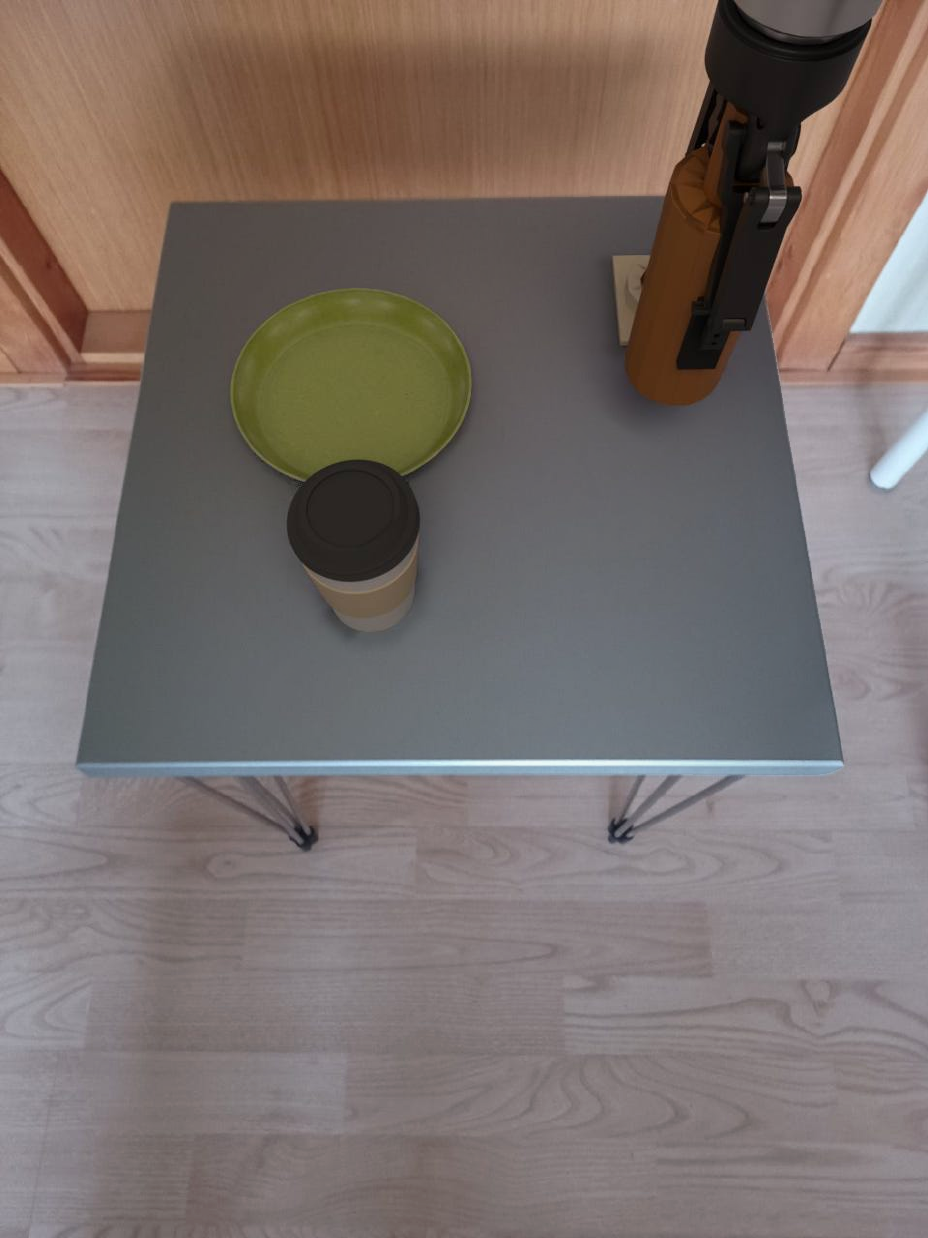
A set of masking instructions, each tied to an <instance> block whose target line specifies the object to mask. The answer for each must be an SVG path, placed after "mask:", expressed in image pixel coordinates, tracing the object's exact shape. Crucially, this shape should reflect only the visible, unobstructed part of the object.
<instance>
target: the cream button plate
mask: <svg viewBox="0 0 928 1238" xmlns="http://www.w3.org/2000/svg"><path fill="white" fill-rule="evenodd" d="M650 255H651V254H639V255H638V254H636V255H635V254H633V255H631V254H629V255H628V254H626V255H625V254H624V255H623V254H622V255H612V257H611V268H612V277H613V278H612V279H613V290H614V300H615V311H616V321H617V322H616V323H617V332H618V342H619V343H618V344H619V346H620V347H627V345H628V341H629V337H630V333H631V329H632V326H633V322H634V318H635V314H636V310H637V306H638V302H639V298H640V294H641V290H642V286H643V282H644V277H645V273H646V270H647V266H648V263H649V259H650Z"/></svg>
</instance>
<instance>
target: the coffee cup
mask: <svg viewBox="0 0 928 1238" xmlns="http://www.w3.org/2000/svg"><path fill="white" fill-rule="evenodd" d="M420 513H421V512H420V508H419V504H418V502H417V499H416V496H415V494H414V490H413V489H412V487H411V485H410V484H409V482H408V481H407V479H405V477H404V476H403V477H402V476H401V475H400V474H399V473H398V472H397V471H395V470H394V469H392V468H391V467H389V466H387V465H384V464H382V463H379V462H375V461H371V460H362V459H355V460H346V461H341V462H337V463H334V464H331V465H329V466H326V467H324V468H322V469H321V470H319V471H317V472H316V473H314V474H313V475H312V476H310V477H309V478H308V479H307V480H306V481H305V482H302V484H301V485H300V486H299V487H298V488H297V490H296V492H295V493H294V495H293V497H292V499H291V501H290V504H289V506H288V509H287V515H286V533H287V538H288V541H289V545H290V547H291V549H292V551H293V554H294V555H295V556H296V558H297V559H298V560H299V561H300V562H301V565H302V566H303V568H304V570H305V571H306V573H307V574H308V576H309V578H310V579H311V580H312V582H313V584H314V586H315V587H316V589H317V590H318V592H319V593H320V595H321V597H322V598H323V601H325V603H326V604H328V605H329V607H330V608H331V609H332V610H333V612H334V614H335V615H336V617H337V618H338V619H339V620H340V622H342V623H343V624H344V625H346V626H347V627H348V628H351V629H353V630H354V631H358V632H364V633H376V632H377V633H378V632H382V631H385V630H388V629H390V628H392V627H394V626H396V625H397V624H399V623H400V622H401V621H402V620H403V619H404V618H405V617H406V616H407V615H408V613H409V612H410V610H411V608H412V606H413V603H414V600H415V594H416V581H417V576H418V575H417V574H418V556H419V532H420V525H421V514H420Z"/></svg>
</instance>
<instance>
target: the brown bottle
mask: <svg viewBox="0 0 928 1238" xmlns="http://www.w3.org/2000/svg"><path fill="white" fill-rule="evenodd" d="M747 118H748V117H747V111H746V110H742V109H740V108H738V107H736V106H734V105H733V104H731V103H730V102H728V101H727V105H726V108H725V111H724V114H723V118H722V121H721V124H720V128H719V131H718V134H717V138H716V141H715V144H714V148H713V151H712V154H711V157H709V155H708V149H707V146H705V147H702V148H699V149H697V150H694V151H691V152H690V153H688V154H687V155H686V156H685V155H684V157H682V159H681V160H679V161H678V162H677V163H676V164H675V165H674V167H673V170H672V173H671V176H670V178H669V181H668V184H667V188H666V189H667V190H666V192H665V196H664V200H663V205H662V207H661V208H662V209H661V213H660V216H659V219H658V224H657V227H656V232H655V235H654V241H653V243H652V247H651V251H650V254H649V255H650V259H649V263H648V267H647V271H646V275H645V278H644V282H643V286H642V290H641V294H640V298H639V302H638V306H637V310H636V314H635V318H634V322H633V326H632V329H631V333H630V337H629V341H628V345H627V346H626V350H625V353H624V370H625V373H626V376H627V379H628V381H629V382H630V384H631V386H632V387H633V388H634V389H635V390H636V391H637V392H638V393H639V394H640V395H642V396H643V397H645V398H646V399H647V400H650V401H651V402H654V403H657V404H659V405H664V406H672V407H682V406H689V405H692V404H696V403H698V402H700V401H702V400H704V399H705V398H707V397H708V396H709V395H711V393H713V391H715V389H716V388H717V386H718V385H719V383H720V382H721V379H722V376H723V374H724V372H725V370H726V368H727V365H728V363H729V360H730V358H731V356H732V354H733V351H734V349H735V347H736V344H737V342H738V340H739V337H740V335H741V332H742V331H731V332H730V334H729V337H728V339H727V342H726V344H725V346H724V349H723V351H722V354H721V356H720V359H719V361H718V363H717V366H716V368H715V369H690V370H677V364H676V360H677V357H678V354H679V351H680V348H681V345H682V343H683V340H684V337H685V334H686V331H687V328H688V325H689V322H690V319H691V316H692V313H691V304H692V301H697V299H698V297H705V291H706V286H707V281H708V276H709V271H710V266H711V262H712V259H713V256H714V253H715V250H716V248H717V245H718V242H719V239H720V236H721V233H720V226H719V220H720V215H721V210H722V203H721V201H720V200H719V198H718V196H717V186H718V181H719V176H720V171H721V165H722V160H723V155H724V152H723V150H722V147H721V142H722V136H723V131H724V126H725V123H726V121H727V120H736V121H738V122H740V123H742V124H743V123H744V122H745V123H746V121H747ZM735 185H759V182H753V183H741V182H737V181H736V180H733V185H732V186H735ZM785 185H786V186H795V183H794V178H793V176H792V175H791V173H789V172H788V170H787V173H786V177H785Z"/></svg>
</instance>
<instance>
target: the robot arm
mask: <svg viewBox="0 0 928 1238" xmlns="http://www.w3.org/2000/svg"><path fill="white" fill-rule="evenodd" d="M883 2H884V0H717V4H716V7H715V12H714V14H713V19H712V23H711V26H710V31H709V34H708V38H707V41H706V46H705V49H704V57H703V58H704V59H703V60H704V68H705V73H706V75H707V78H708V80H709V81H708V85H707V87H706V91H705V94H704V97H703V100H702V103H701V106H700V108H699V112H698V114H697V118H696V121H695V123H694V126H693V130H692V133H691V136H690V139H689V142H688V145H687V148H686V152H685V153H684V157H685V156H686V155H687V154H688V153H690V152H691V151H694V150H697V149H699V148H702V147H705V146H707V149H708V155H709V157H711V154H712V151H713V148H714V144H715V141H716V138H717V134H718V131H719V128H720V124H721V121H722V118H723V114H724V111H725V108H726V105H727V101H728V102H730V103H731V104H733V105H734V106H736V107H738V108H740V109H742V110H746V111H747V117H748V118H747V121H746V123H745V122H744V123H743V124H742V123H740V122H738V121H736V120H727V121H726V123H725V126H724V131H723V136H722V142H721V147H722V150H723V152H724V155H723V160H722V165H721V171H720V176H719V181H718V186H717V196H718V198H719V200H720V201H721V203H722V210H721V215H720V220H719V226H720V233H721V236H720V239H719V242H718V245H717V248H716V250H715V253H714V256H713V259H712V262H711V266H710V271H709V276H708V281H707V286H706V291H705V297H698V299H697V301H692V304H691V313H692V316H691V319H690V322H689V325H688V328H687V331H686V334H685V337H684V340H683V343H682V345H681V348H680V351H679V354H678V357H677V360H676V364H677V370H690V369H715V368H716V366H717V363H718V361H719V359H720V356H721V354H722V351H723V349H724V346H725V344H726V342H727V339H728V337H729V334H730V332H731V331H741V332H751V331H752V329H753V326H754V323H755V320H756V318H757V315H758V311H759V309H760V306H761V303H762V301H763V298H764V295H765V292H766V290H767V286H768V283H769V281H770V277H771V275H772V272H773V269H774V266H775V264H776V261H777V258H778V255H779V252H780V249H781V246H782V244H783V240H784V239H785V235H786V232H787V229H788V228H789V225H790V223H791V222H792V220H793V219H794V217H795V215H796V214H797V212H798V210H799V208H800V206H801V203H802V200H803V194H802V192H803V190H802V187H801V186H800V185H794V186H786V185H785V177H786V173H787V171H788V168H789V165H790V161H791V159H792V158H793V156H794V155H795V154H796V152H797V149H798V145H799V141H800V139H801V138H800V136H801V133H802V123H803V122H804V121H805V120H807V119H808V118H810V117H811V116H813V115H814V114H815V113H817V112H819V111H821V110H822V109H824V108H826V107H828V106H829V105H830V104H832V102H834V101H835V100H836V99H837V98H838V97H839V96H840V94H841V93H842V92H843V90H844V89H845V87H846V86H847V83H848V81H849V78H850V77H851V74H852V72H853V69H854V68H855V65H856V62H857V60H858V58H859V56H860V54H861V52H862V49H863V46H864V44H865V42H866V40H867V37H868V34H869V32H870V30H871V27H872V23H873V17H875V16H876V15H877V13H878V11H879V9H880V7H881V5H882V4H883ZM733 180H736V181H737V182H741V183H753V182H759V185H735V186H732V185H733Z"/></svg>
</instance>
